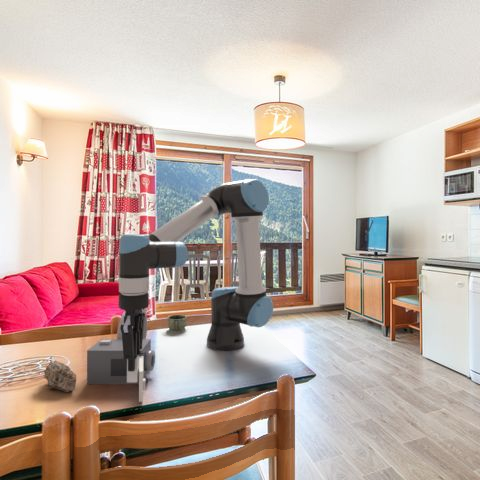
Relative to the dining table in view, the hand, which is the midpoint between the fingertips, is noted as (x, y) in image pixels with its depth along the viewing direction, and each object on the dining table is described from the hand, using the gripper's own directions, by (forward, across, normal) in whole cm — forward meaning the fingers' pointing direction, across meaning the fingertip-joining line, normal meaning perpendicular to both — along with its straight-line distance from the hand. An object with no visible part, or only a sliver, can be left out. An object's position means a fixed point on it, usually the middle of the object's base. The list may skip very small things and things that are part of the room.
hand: (133, 380), depth 82 cm
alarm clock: (+6, -29, -10) cm, 31 cm away
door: (+5, -4, +1) cm, 6 cm away
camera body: (+6, -14, -7) cm, 17 cm away
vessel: (+6, -61, 0) cm, 62 cm away
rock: (+6, -8, -23) cm, 25 cm away
